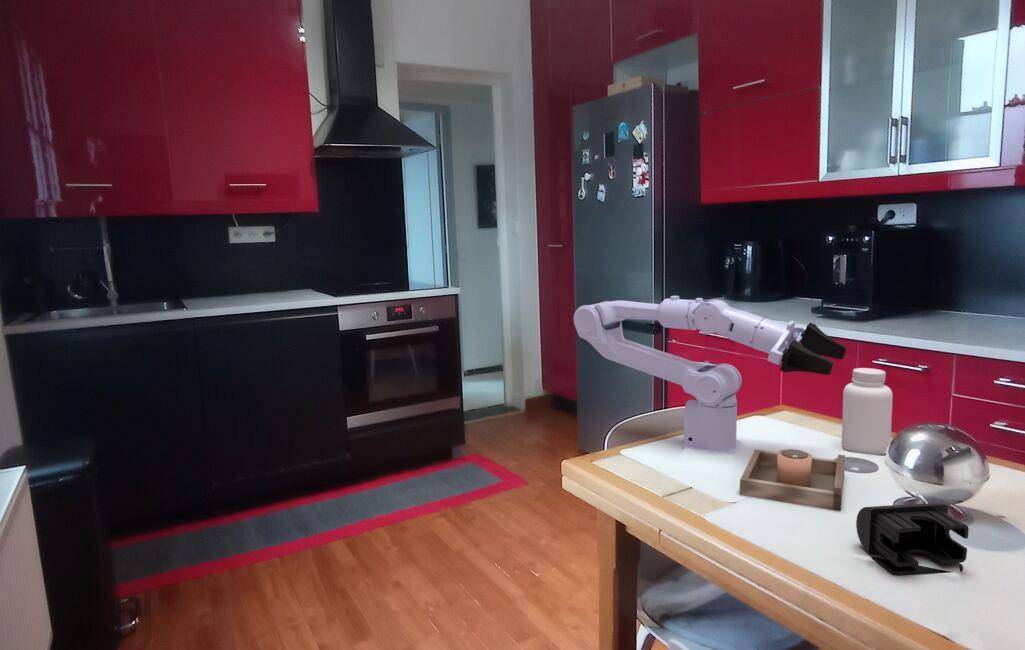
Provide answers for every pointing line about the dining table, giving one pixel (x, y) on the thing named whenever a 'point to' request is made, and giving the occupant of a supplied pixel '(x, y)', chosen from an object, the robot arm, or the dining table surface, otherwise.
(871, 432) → the pill bottle
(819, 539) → the dining table surface
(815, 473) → the wooden tray
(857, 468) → the saucer
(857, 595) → the dining table surface
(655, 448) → the dining table surface
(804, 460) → the pot
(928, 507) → the end cap
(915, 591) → the dining table surface
